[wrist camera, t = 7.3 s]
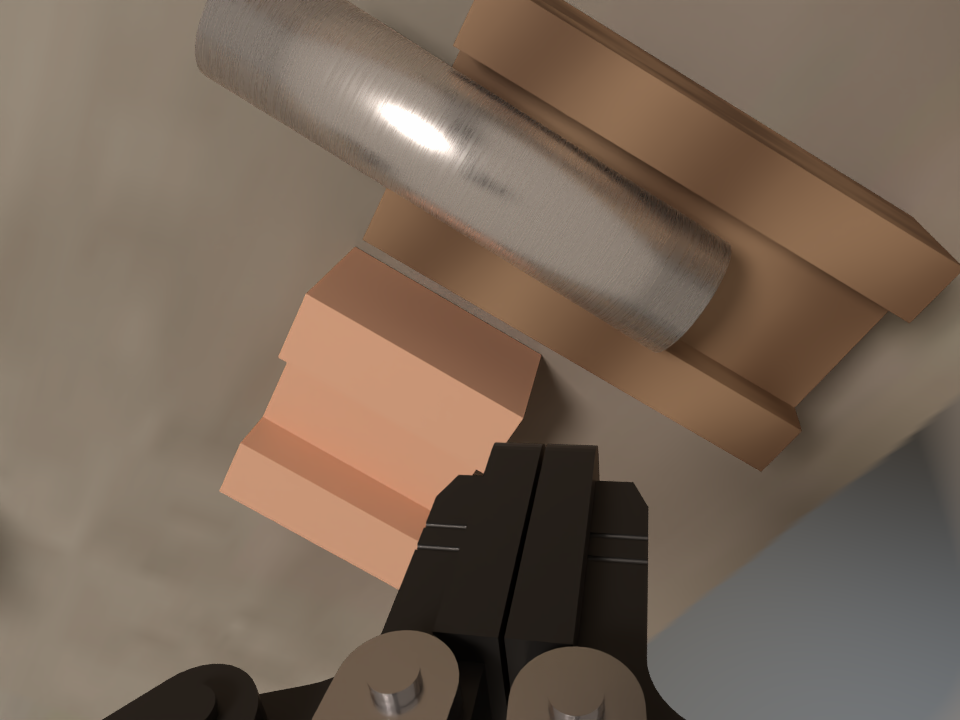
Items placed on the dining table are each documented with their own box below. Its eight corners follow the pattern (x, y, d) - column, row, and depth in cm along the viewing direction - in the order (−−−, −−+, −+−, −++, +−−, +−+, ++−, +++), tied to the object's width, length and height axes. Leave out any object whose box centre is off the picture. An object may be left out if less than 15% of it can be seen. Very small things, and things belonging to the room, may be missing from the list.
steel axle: (248, 67, 24) (180, 87, 21) (288, -55, 22) (221, -54, 19) (651, 317, 26) (649, 374, 22) (726, 224, 24) (736, 272, 20)
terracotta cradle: (271, 427, 36) (219, 491, 32) (355, 246, 31) (306, 293, 26) (430, 516, 37) (400, 590, 32) (541, 355, 31) (523, 418, 27)
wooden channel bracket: (405, 198, 29) (362, 239, 25) (516, -29, 25) (486, -27, 20) (745, 398, 30) (761, 471, 26) (912, 216, 26) (964, 268, 21)
